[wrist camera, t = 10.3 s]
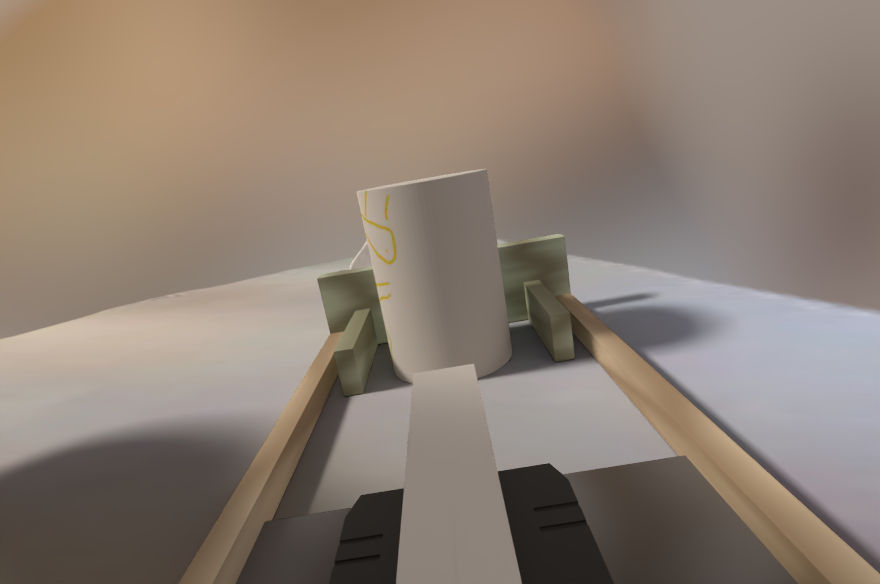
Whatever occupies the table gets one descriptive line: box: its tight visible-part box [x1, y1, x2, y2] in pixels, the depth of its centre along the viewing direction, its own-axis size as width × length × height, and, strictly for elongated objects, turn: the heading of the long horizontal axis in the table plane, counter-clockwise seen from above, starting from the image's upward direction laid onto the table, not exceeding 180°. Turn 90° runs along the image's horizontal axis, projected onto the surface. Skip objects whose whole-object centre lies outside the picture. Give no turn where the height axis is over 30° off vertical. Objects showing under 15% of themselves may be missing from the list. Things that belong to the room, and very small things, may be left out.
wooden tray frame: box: [178, 234, 880, 584], centre depth 23 cm, size 19×30×6 cm, turn 1°
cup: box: [357, 169, 512, 384], centre depth 31 cm, size 8×8×12 cm
